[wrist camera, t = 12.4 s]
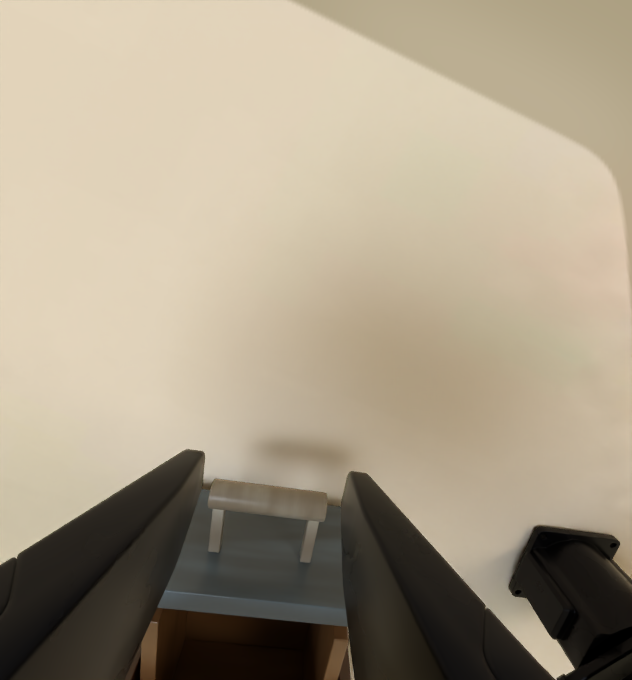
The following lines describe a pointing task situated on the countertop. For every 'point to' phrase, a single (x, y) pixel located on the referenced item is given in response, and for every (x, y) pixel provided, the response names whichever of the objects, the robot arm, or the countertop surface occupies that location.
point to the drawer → (253, 590)
